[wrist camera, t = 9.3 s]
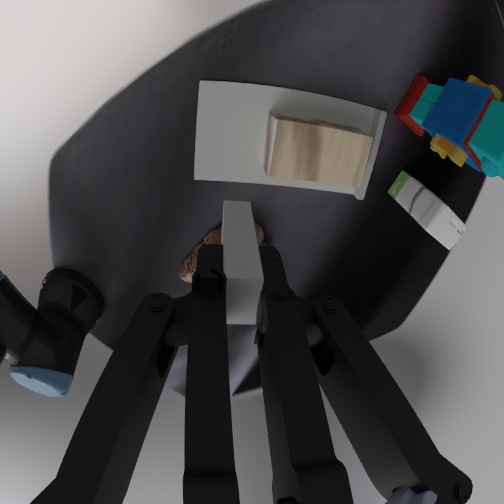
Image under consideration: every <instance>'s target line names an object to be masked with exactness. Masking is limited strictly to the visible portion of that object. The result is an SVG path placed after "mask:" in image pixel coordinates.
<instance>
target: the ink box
mask: <svg viewBox="0 0 504 504" xmlns="http://www.w3.org/2000/svg"><path fill="white" fill-rule="evenodd" d="M388 193H389V194H390V195H391V196H392V197H393V198H394V199H395V200H396V201H397V202H398V203H399V204H400V205H401V206H402V207H404V209H405V210H406V211H407V212H408V213H409V214H410V215H411V216H412V217H413V218H414V219H415V220H416V221H417V222H418V223H419V224H420V225H421V226H422V227H423V228H424V229H425V230H426V231H427V232H428V233H429V234H431V235H432V236H433V237H434V238H435V239H437V240H438V241H439V242H440V243H441V244H443V245H444V246H445V247H446V248H447V249H448V250H451V249H452V247H453V246H454V245H455V244H456V243H457V241H458V240H459V239H460V238H461V236H462V235H463V234H464V233H465V232H466V230H467V227H466V225H465V224H464V223H463V222H462V221H461V220H460V219H459V218H458V217H457V216H456V214H455V213H454V212H453V211H452V210H451V209H450V208H449V207H448V206H447V205H446V204H445V203H444V202H443V201H442V200H440V199H439V198H438V197H437V196H436V195H435V194H433V193H432V192H431V191H430V190H429V189H427V188H426V187H425V186H424V185H422V184H421V183H420V182H419V181H417V180H416V179H415V178H413V177H412V176H411V175H409V174H408V173H407V172H405V171H404V170H402V171H401V173H400V174H399V176H398V177H397V179H396V180H395V182H394V183H393V185H392V186H391V188H390V189H389V190H388Z"/></svg>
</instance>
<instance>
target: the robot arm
mask: <svg viewBox="0 0 504 504" xmlns="http://www.w3.org/2000/svg"><path fill="white" fill-rule="evenodd" d="M103 310H104V301H103V298H102V295H101V294H100V292H99V290H98V289H97V288H96V287H95V286H94V285H93V284H92V283H91V282H90V281H89V280H88V279H87V278H85V277H84V276H82V275H80V274H79V273H77V272H74V271H72V270H68V269H63V268H58V269H53V270H51V271H50V272H48V273H47V275H46V277H45V278H44V280H43V282H42V284H41V290H40V296H39V302H38V308H37V310H36V309H35V308H34V307H33V306H32V305H31V304H30V303H29V302H28V301H27V299H26V298H25V297H24V296H23V295H22V294H21V293H20V292H19V291H18V290H17V289H16V287H15V286H14V285H13V284H12V283H11V282H10V280H9V279H8V278H7V276H6V275H4V274H3V273H2V272H1V271H0V365H1V363H2V361H3V359H4V360H5V361H6V362H8V363H9V364H10V365H11V366H10V368H9V370H10V372H9V373H10V376H11V377H12V378H13V379H14V380H15V381H16V382H18V383H19V384H21V385H23V386H24V387H26V388H28V389H30V390H32V391H35V392H37V393H40V394H43V395H46V396H50V397H63V396H65V395H66V394H67V393H68V391H69V388H70V385H71V383H72V380H73V379H74V377H73V376H74V372H75V369H76V365H77V362H78V358H79V355H80V352H81V349H82V345H83V342H84V339H85V337H86V335H87V334H88V333H89V332H90V330H91V329H92V328H93V327H94V325H95V324H96V323H97V322H98V321H99V320H100V318H101V316H102V313H103ZM256 318H257V330H256V335H255V340H254V344H256V343H257V347H258V355H259V364H260V372H261V381H262V389H263V397H264V405H265V414H266V421H267V430H268V438H269V447H270V454H271V462H272V470H273V481H272V494H273V502H274V504H354V503H353V498H352V493H351V489H350V484H349V478H348V474H347V471H346V468H345V466H344V465H343V463H342V462H340V461H339V460H338V459H337V458H336V456H335V453H334V448H333V443H332V439H331V434H330V430H329V425H328V421H327V417H326V412H325V408H324V404H323V400H322V395H321V391H320V387H319V384H320V386H321V387H322V390H323V391H324V393H325V395H326V397H327V399H328V401H329V403H330V405H331V407H332V408H333V410H334V412H335V414H336V416H337V418H338V420H339V422H340V424H341V425H342V427H343V429H344V431H345V433H346V435H347V437H348V438H349V441H350V442H351V444H352V446H353V448H354V450H355V452H356V454H357V456H358V458H359V459H360V461H361V463H362V465H363V467H364V469H365V471H366V472H367V474H368V476H369V478H370V480H371V481H372V483H373V485H374V486H375V488H376V489H377V490H378V491H379V493H380V494H381V495H382V496H383V497H384V498H385V499H387V500H388V501H387V502H386V503H385V504H465V503H466V502H467V501H468V500H469V498H470V496H471V494H472V488H473V485H472V481H471V480H470V478H469V477H468V476H467V475H466V474H464V473H463V472H462V471H460V470H459V469H458V468H457V467H456V466H454V465H453V464H452V463H451V462H449V461H448V460H447V459H446V458H444V457H443V456H442V455H441V454H440V453H439V451H438V450H437V448H436V446H435V445H434V443H433V441H432V440H431V438H430V436H429V435H428V433H427V431H426V430H425V428H424V426H423V425H422V423H421V421H420V420H419V418H418V416H417V415H416V413H415V412H414V410H413V408H412V407H411V405H410V404H409V402H408V401H407V399H406V398H405V396H404V394H403V393H402V391H401V389H400V388H399V386H398V385H397V383H396V382H395V380H394V379H393V377H392V376H391V374H390V373H389V371H388V369H387V368H386V366H385V365H384V363H383V362H382V360H381V359H380V357H379V356H378V354H377V353H376V351H375V350H374V348H373V347H372V346H371V344H370V343H369V341H368V340H367V338H366V337H365V335H364V334H363V332H362V331H361V329H360V328H359V327H358V325H357V324H356V322H355V321H354V319H353V318H352V317H351V315H350V314H349V312H348V311H347V309H346V308H345V307H344V305H343V304H342V303H341V302H340V301H339V300H338V299H336V298H334V297H331V296H321V297H319V298H317V300H316V301H315V302H312V301H308V300H304V299H301V298H299V297H297V296H296V294H295V292H294V291H293V290H292V289H291V288H290V287H289V286H288V282H287V278H286V275H285V271H284V267H283V263H282V261H281V256H280V252H279V251H278V250H277V249H276V248H275V247H274V246H260V245H258V243H257V237H256V232H255V226H254V220H253V215H252V209H251V204H250V202H245V201H228V200H224V207H223V221H222V235H221V244H202V246H201V247H200V248H199V249H198V255H197V264H196V271H195V272H194V273H193V275H192V291H191V292H190V293H189V294H187V295H185V296H183V297H179V298H175V299H172V298H171V297H170V296H169V295H167V294H165V293H158V292H157V293H152V294H149V295H147V296H146V297H145V298H144V299H143V300H142V301H141V303H140V305H139V306H138V308H137V310H136V312H135V313H134V315H133V317H132V319H131V320H130V322H129V324H128V326H127V328H126V329H125V331H124V333H123V335H122V337H121V338H120V340H119V342H118V344H117V346H116V348H115V350H114V351H113V353H112V355H111V357H110V359H109V361H108V363H107V365H106V367H105V369H104V371H103V373H102V374H101V376H100V379H99V381H98V383H97V384H96V386H95V389H94V391H93V393H92V395H91V397H90V399H89V401H88V403H87V405H86V407H85V410H84V412H83V414H82V416H81V418H80V420H79V423H78V425H77V427H76V429H75V432H74V434H73V436H72V439H71V441H70V443H69V446H68V448H67V450H66V453H65V456H64V458H63V461H62V463H61V466H60V468H59V471H58V473H57V476H56V478H55V479H54V480H53V481H52V482H51V483H50V484H49V485H48V486H47V487H46V488H45V489H44V490H43V491H42V492H41V493H40V494H39V495H38V496H37V497H36V498H35V499H34V500H33V501H32V502H31V503H30V504H122V502H123V500H124V497H125V495H126V492H127V490H128V486H129V483H130V480H131V477H132V474H133V471H134V468H135V465H136V462H137V459H138V457H139V454H140V451H141V448H142V445H143V442H144V439H145V436H146V434H147V431H148V428H149V425H150V422H151V420H152V417H153V414H154V411H155V409H156V406H157V403H158V400H159V398H160V395H161V392H162V390H163V387H164V385H165V382H166V379H167V377H168V374H169V371H170V369H171V366H172V364H173V361H174V358H175V356H176V353H177V351H178V348H179V346H183V345H187V344H188V356H187V374H186V398H185V400H186V401H185V469H184V475H183V504H240V500H239V490H238V481H237V476H236V471H235V461H234V448H233V434H232V419H231V403H230V385H229V365H228V343H227V324H255V322H256ZM318 382H319V383H318Z"/></svg>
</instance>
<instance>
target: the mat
mask: <svg viewBox="0 0 504 504" xmlns="http://www.w3.org/2000/svg"><path fill="white" fill-rule="evenodd" d="M268 111H269V112H277V113H284V114H291V115H297V116H303V117H309V118H315V119H320V120H326V121H331V122H335V123H340V124H345V125H349V126H353V127H356V128H358V129H359V130H361V131H363V132H365V133H366V134H368V135H370V136H371V137H373V141H372V145H371V149H370V153H369V156H368V160H367V164H366V167H365V171H364V175H363V178H362V181H361V185H360V188H356V187H350V186H343V185H336V184H329V183H322V182H314V181H306V180H297V179H288V178H278V177H268V176H266V173H265V170H264V167H263V164H262V161H261V159H262V151H263V144H264V137H265V130H266V123H267V116H268ZM386 115H387V112H384V111H382V110H379V109H376V108H372V107H369V106H365V105H362V104H358V103H354V102H350V101H347V100H342V99H338V98H334V97H330V96H325V95H320V94H315V93H310V92H305V91H299V90H294V89H287V88H281V87H274V86H266V85H258V84H248V83H237V82H223V81H200V85H199V97H198V111H197V126H196V144H195V167H194V180H214V181H231V182H245V183H258V184H270V185H281V186H291V187H300V188H309V189H318V190H326V191H333V192H341V193H348V194H354V196H355V197H356V198H357V199H360V200H363V199H364V196H365V192H366V189H367V186H368V182H369V179H370V176H371V172H372V169H373V165H374V162H375V158H376V154H377V151H378V147H379V143H380V139H381V135H382V131H383V127H384V123H385V119H386Z"/></svg>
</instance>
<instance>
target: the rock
mask: <svg viewBox="0 0 504 504" xmlns="http://www.w3.org/2000/svg"><path fill="white" fill-rule="evenodd" d="M254 226H255V232H256V237H257V243H258V245H260V246H268V244H267V243H265V242H263V241H262V240H263V238H264V233H263V231H262V228H261V227H259V226H258V225H257V224H256V223H254ZM221 235H222V225H221V227H220V228H217V229H214V230H213V231H211V232H210V233H209V235H208V236H207V237H205V238H204V242H202V243H201V244H199V245H197V246H196V247H195V249H194V250H193V253H192V254H191V255H190V256H188V257H187V259H186V260H185V261H184V263H183V265H182V266H181V267H180V268H179V276H180V278H181V279H182V280H184V281H187V282H188V283H190V282H191V283H192V275H193V273H194V272H195V271H196V264H197V255H198V249H199V248H200V247H201V246H202V244H221Z"/></svg>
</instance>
